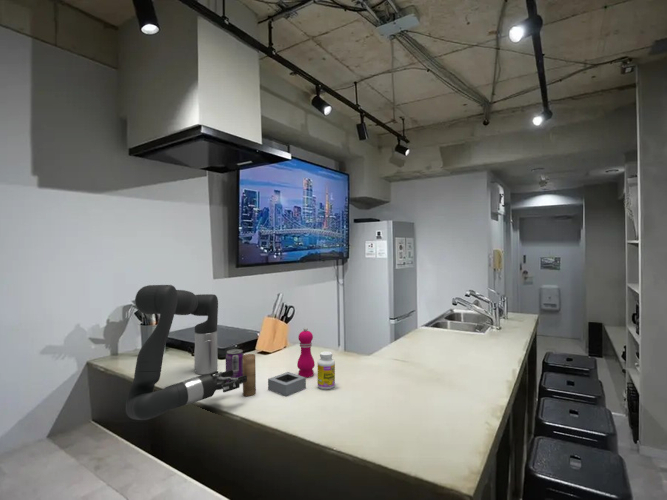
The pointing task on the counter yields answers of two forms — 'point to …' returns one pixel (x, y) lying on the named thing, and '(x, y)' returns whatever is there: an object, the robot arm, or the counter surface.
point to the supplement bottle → (326, 371)
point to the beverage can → (235, 362)
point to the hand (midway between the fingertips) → (239, 375)
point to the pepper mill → (305, 354)
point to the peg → (249, 375)
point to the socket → (286, 383)
